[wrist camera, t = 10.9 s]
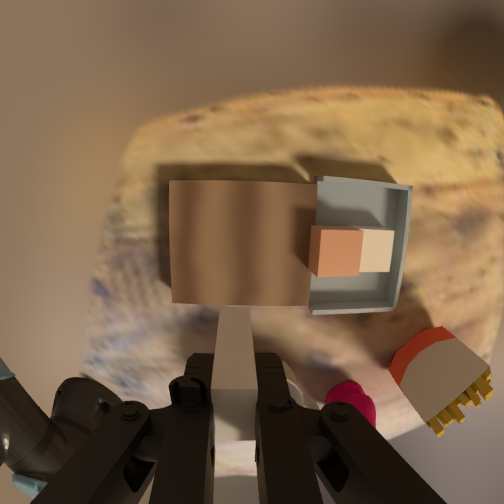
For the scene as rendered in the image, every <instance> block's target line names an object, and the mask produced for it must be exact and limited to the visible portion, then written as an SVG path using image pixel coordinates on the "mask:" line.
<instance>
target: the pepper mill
mask: <svg viewBox="0 0 504 504" xmlns="http://www.w3.org/2000/svg"><path fill="white" fill-rule="evenodd" d="M334 401H343V402H347V403H350V404H352V405H353V406H355V407H356V408H357V409H358V410H359V411H360V412H361V413H362V415H363V416H364V417H365V418H366V419H367V420H368V421H369V422H370V423H371V424H372V425H373V427H374V428H375V429H376V410H375V405H374V403H373V401H372V399H371V398H370V397H369V396H367V395H365V393H364V391H363V389H362V387H361V386H360V385H359V384H358V383H355V382H346V383H342V384H340V385H338V386H336V387H335V388H333V389H332V390H331V391H330V393H329V394H328V396H327V398H326V404H328V403H330V402H334Z"/></svg>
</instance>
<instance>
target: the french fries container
mask: <svg viewBox="0 0 504 504" xmlns="http://www.w3.org/2000/svg"><path fill="white" fill-rule="evenodd" d="M389 372H390V373H391V375H392V377H393V378H394V380H395V382H396V383H397V385H398V386H399V388H400V389H401V390H402V392H403V393H404V395H405V396H406V397H407V399H408V400H409V402H410V403H411V404H412V406H413V407H414V408H415V410H416V411H417V412H418V414H419V415H420V417H421V418H422V419H423V421H424V422H425V424H426V425H427V426H428V427H429V426H430V428H432V429H433V430H434V432H435V434H436V436H437V437H440V436H441V435H442V434H444V433H445V431H444V429H443V427H442V425H441V424H440V423H439V421H438V420H437V418H438V419H439V420H440V421H441V422H442V423H443V424H444V425H445V427H447V426H448V425H450V424H451V423H452V422H453V421H455V419H456V420H457V421H458V423H459V424H460V423H461V422H463V421H464V420H465V416H464V415H463V413H462V412H461V410H460V409H459V408H458V407H459V406H461V404H462V405H464V406H465V407H466V408H467V406H470V405H471V404H472V403H474V404H475V406H476V407H477V408H478V407H479V406H480V405H481V399H480V397H479V395H478V393H480V394H481V395H482V397H483V398H484V399H485V401H486V400H487V399H489V398H490V397H491V396H492V395H493V388H492V387H491V386H490V384H491V380H490V377H491V372H490V366H489V365H488V364H487V363H486V362H485V361H484V360H482V359H481V358H480V357H479V356H478V355H476V354H475V353H474V352H473V351H472V350H471V349H469V348H468V347H467V346H466V345H465V344H463V343H462V342H461V341H460V340H459V339H457V338H456V337H455V336H454V335H452V334H451V333H450V332H449V331H447V330H446V329H445V328H444V327H443V326H441V327H436V328H431V329H426V330H422V331H421V332H419V333H418V334H417V335H416V336H415V337H413V338H412V339H411V340H410V341H409V342H407V343H406V344H405V345H404V346H402V347H401V348H400V349H399V350H397V351H396V353H395V356H394V358H393V361H392V363H391V366H390V368H389ZM435 415H436V417H437V418H436V417H435Z"/></svg>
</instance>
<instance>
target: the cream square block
mask: <svg viewBox="0 0 504 504" xmlns="http://www.w3.org/2000/svg"><path fill="white" fill-rule="evenodd" d="M348 226H351V227H354V228H357V229H360V230H363V231H364V233H363V243H362V252H361V261H360V269H359V272H389V270H390V263H391V256H392V248H393V240H394V230H391V229H388V228H385V227H377V226H360V225H348Z"/></svg>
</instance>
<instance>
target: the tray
mask: <svg viewBox="0 0 504 504" xmlns="http://www.w3.org/2000/svg"><path fill="white" fill-rule="evenodd" d="M315 184H318V189H317V208H316V225H322V226H348V225H360V226H377V227H385V228H388V229H391V230H394V240H393V248H392V256H391V263H390V270H389V272H359V276H341V277H316V276H315V275H314V274H313V273H312V275H311V285H310V295H309V304H308V307H309V309H310V311H311V313H312V315H321V314H349V313H369V312H386V311H396V307H397V303H398V298H399V293H400V287H401V282H402V276H403V270H404V264H405V257H406V250H407V242H408V234H409V225H410V214H411V202H412V186H408V185H401V184H394V183H387V182H379V181H371V180H362V179H353V178H344V177H333V176H316V177H315Z"/></svg>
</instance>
